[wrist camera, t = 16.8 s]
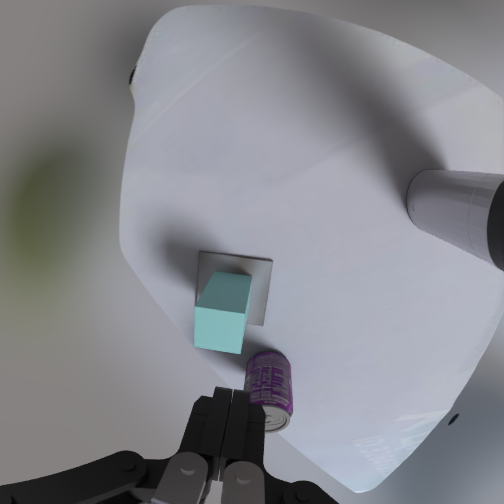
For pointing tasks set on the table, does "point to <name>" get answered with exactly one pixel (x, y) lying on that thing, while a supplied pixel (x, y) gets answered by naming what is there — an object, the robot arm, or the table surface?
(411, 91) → the table surface
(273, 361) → the beverage can
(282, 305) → the table surface
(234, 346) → the tall teal block
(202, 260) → the post
